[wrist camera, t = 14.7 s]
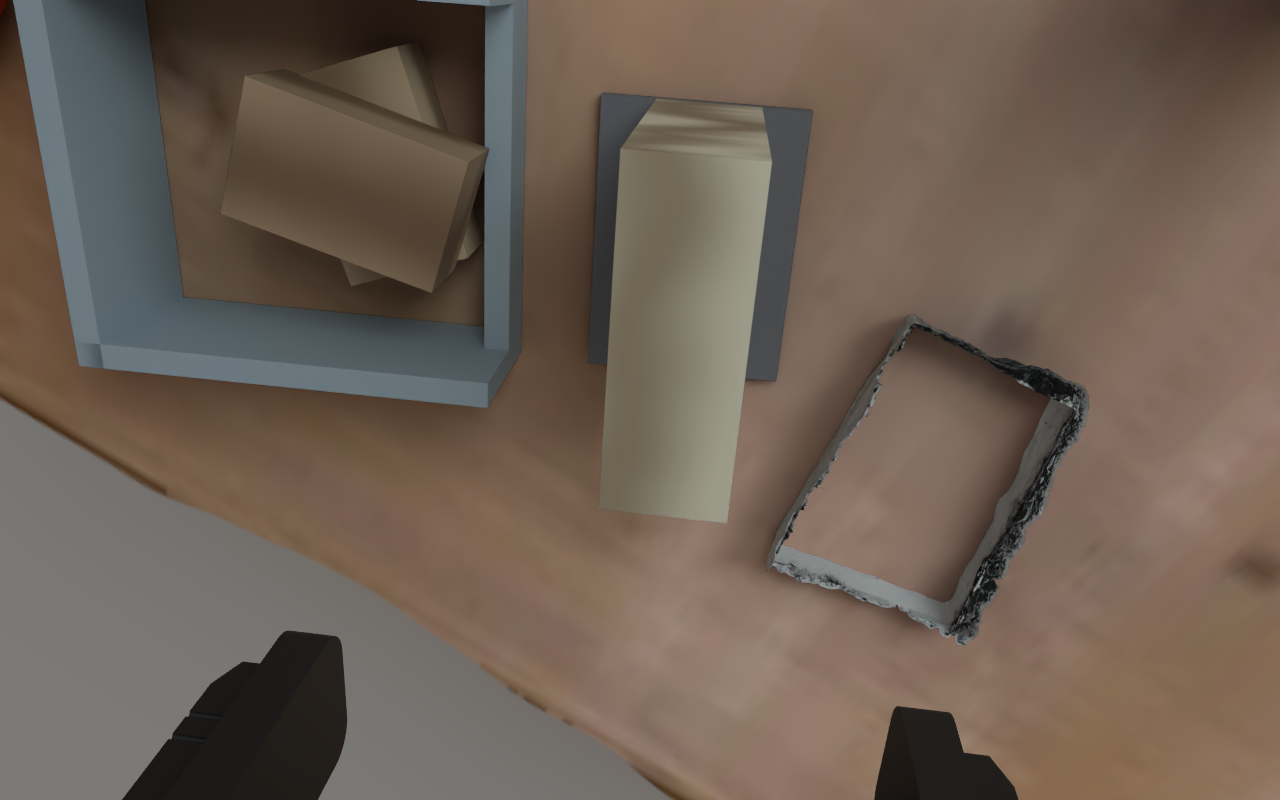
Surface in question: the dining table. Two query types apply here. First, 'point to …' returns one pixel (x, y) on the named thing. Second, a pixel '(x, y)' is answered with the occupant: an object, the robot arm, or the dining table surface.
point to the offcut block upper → (351, 178)
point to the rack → (146, 243)
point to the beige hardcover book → (682, 307)
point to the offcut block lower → (402, 89)
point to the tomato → (2, 5)
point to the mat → (779, 235)
